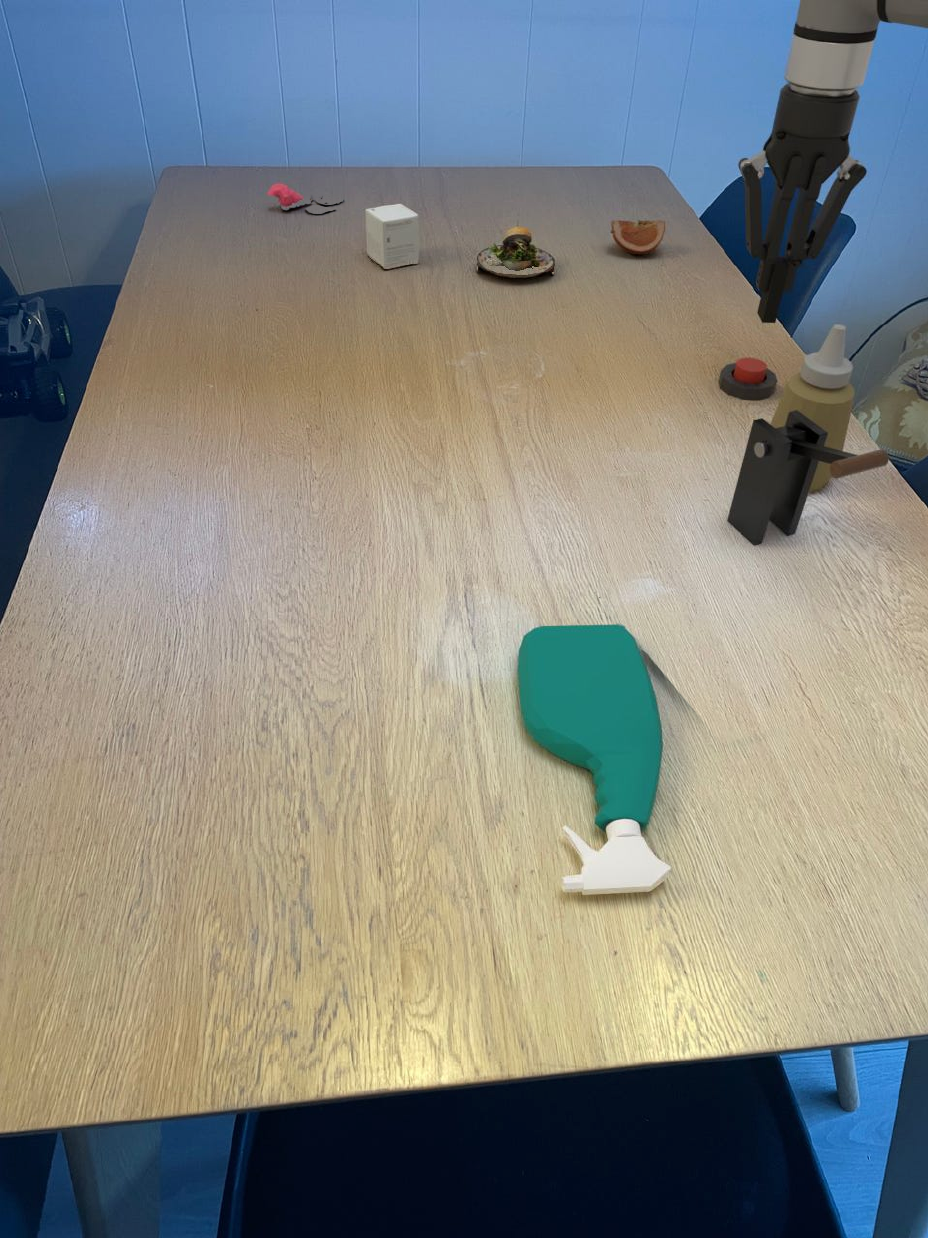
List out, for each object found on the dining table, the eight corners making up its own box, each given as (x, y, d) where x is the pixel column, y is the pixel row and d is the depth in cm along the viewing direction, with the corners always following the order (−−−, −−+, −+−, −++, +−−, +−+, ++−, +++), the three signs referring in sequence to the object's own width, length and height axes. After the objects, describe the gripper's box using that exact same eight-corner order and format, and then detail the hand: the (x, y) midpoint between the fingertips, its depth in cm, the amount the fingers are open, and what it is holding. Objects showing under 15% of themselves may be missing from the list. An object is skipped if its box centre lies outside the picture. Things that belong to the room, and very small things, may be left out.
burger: (463, 277, 139) (465, 226, 134) (492, 250, 147) (494, 200, 142) (539, 292, 136) (544, 240, 131) (565, 263, 144) (569, 213, 139)
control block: (800, 417, 111) (807, 394, 109) (752, 428, 109) (758, 405, 107) (750, 380, 117) (756, 358, 115) (704, 390, 115) (709, 368, 113)
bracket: (815, 556, 91) (854, 443, 82) (756, 573, 89) (791, 459, 80) (758, 506, 97) (790, 396, 88) (702, 521, 95) (729, 409, 86)
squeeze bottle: (816, 465, 103) (866, 308, 91) (839, 508, 97) (897, 346, 85) (743, 465, 103) (785, 308, 91) (763, 508, 97) (810, 346, 85)
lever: (887, 473, 79) (890, 445, 78) (841, 485, 77) (842, 457, 76) (796, 447, 88) (797, 422, 87) (753, 458, 86) (753, 433, 85)
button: (769, 381, 112) (773, 368, 110) (745, 387, 110) (748, 373, 109) (751, 368, 114) (754, 355, 113) (727, 373, 113) (730, 360, 112)
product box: (383, 271, 140) (382, 221, 135) (366, 257, 144) (364, 208, 139) (420, 264, 142) (419, 214, 137) (401, 250, 146) (400, 201, 141)
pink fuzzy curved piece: (312, 222, 154) (310, 194, 151) (260, 208, 158) (256, 181, 155) (355, 201, 162) (353, 174, 159) (303, 189, 166) (301, 162, 163)
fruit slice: (609, 258, 145) (613, 226, 142) (605, 242, 150) (609, 210, 147) (663, 260, 145) (668, 228, 142) (657, 244, 150) (662, 212, 147)
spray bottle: (635, 645, 81) (700, 900, 63) (511, 647, 81) (540, 905, 63) (641, 620, 79) (709, 877, 61) (513, 622, 79) (544, 881, 61)
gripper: (876, 78, 94) (814, 305, 110) (746, 75, 94) (703, 302, 110) (900, 97, 88) (831, 333, 104) (763, 94, 88) (715, 330, 104)
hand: (766, 317), depth 107 cm, fingers closed
